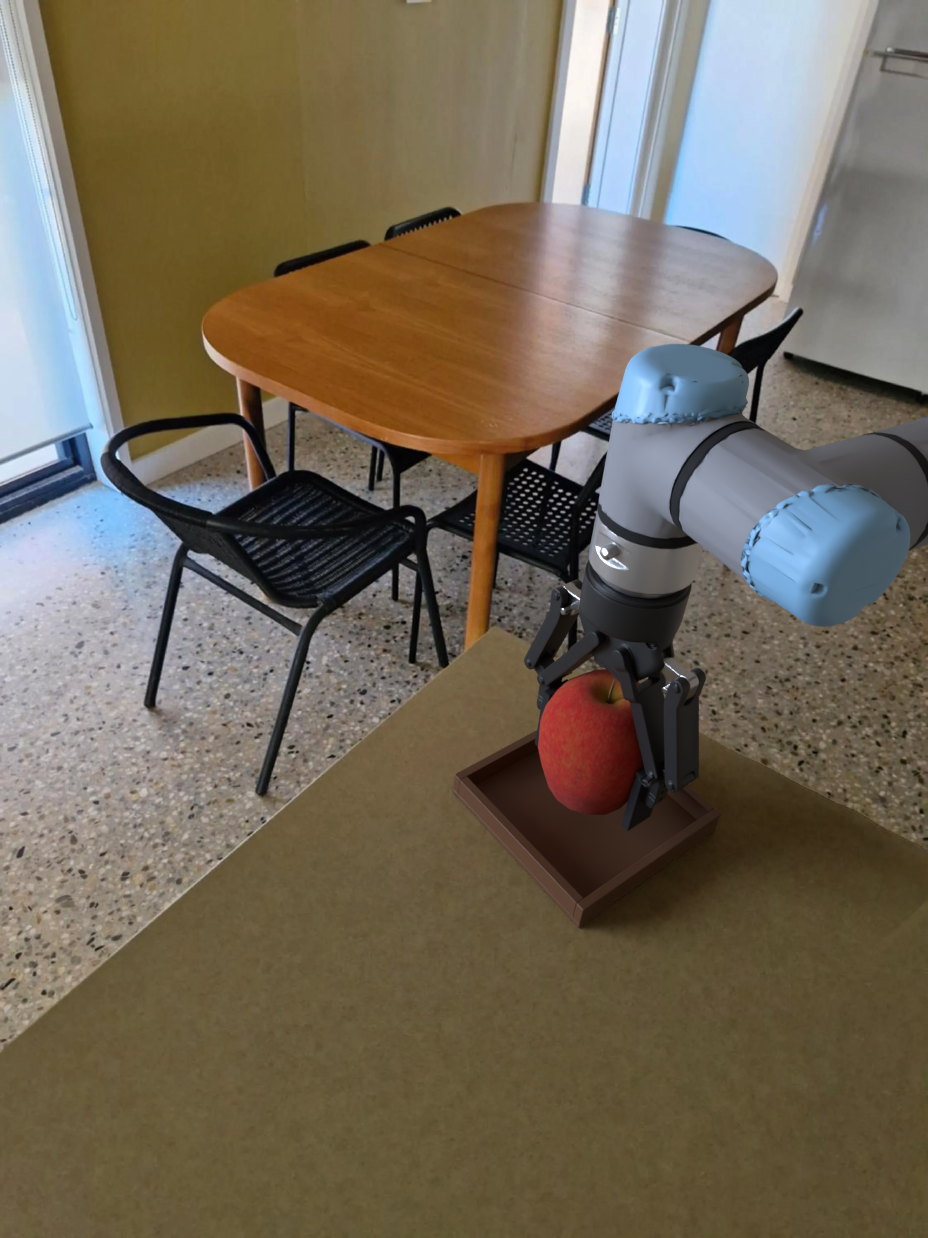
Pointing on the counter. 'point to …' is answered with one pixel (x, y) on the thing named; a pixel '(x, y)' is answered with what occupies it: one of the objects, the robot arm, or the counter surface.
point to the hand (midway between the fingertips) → (590, 778)
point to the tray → (576, 831)
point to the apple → (589, 744)
